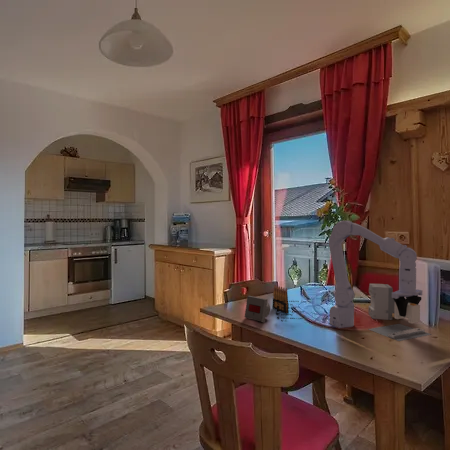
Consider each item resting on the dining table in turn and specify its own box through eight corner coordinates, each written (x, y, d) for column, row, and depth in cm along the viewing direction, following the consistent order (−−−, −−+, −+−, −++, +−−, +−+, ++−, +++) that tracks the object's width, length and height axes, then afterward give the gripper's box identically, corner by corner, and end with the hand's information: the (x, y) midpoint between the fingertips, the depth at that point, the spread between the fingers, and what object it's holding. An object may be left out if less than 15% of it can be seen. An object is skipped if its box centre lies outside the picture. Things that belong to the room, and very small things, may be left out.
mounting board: (398, 343, 119) (398, 341, 119) (367, 331, 132) (367, 329, 132) (431, 336, 126) (431, 334, 126) (399, 325, 139) (399, 323, 139)
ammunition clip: (272, 308, 165) (272, 284, 165) (275, 307, 166) (275, 284, 166) (285, 313, 156) (285, 288, 155) (288, 313, 156) (289, 288, 156)
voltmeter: (243, 322, 142) (244, 299, 142) (244, 315, 153) (245, 293, 153) (306, 325, 139) (307, 301, 139) (303, 317, 151) (303, 295, 151)
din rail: (393, 338, 122) (393, 335, 122) (387, 336, 124) (387, 333, 124) (424, 332, 129) (424, 329, 128) (418, 330, 131) (418, 327, 131)
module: (411, 323, 122) (412, 305, 122) (394, 318, 129) (394, 300, 129) (419, 322, 124) (420, 304, 124) (402, 316, 130) (402, 299, 130)
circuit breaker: (407, 322, 143) (407, 288, 143) (372, 320, 146) (372, 286, 146) (401, 317, 150) (402, 284, 150) (368, 315, 153) (368, 283, 153)
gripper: (403, 283, 119) (403, 320, 120) (430, 280, 125) (429, 316, 125) (387, 279, 126) (386, 315, 126) (413, 277, 132) (412, 311, 132)
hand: (406, 315), depth 126 cm, fingers closed on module, 4 cm apart
